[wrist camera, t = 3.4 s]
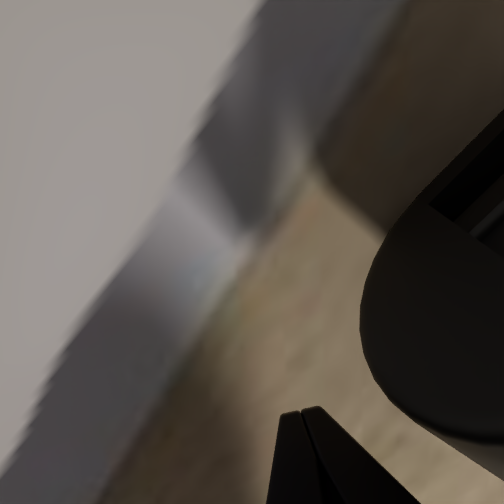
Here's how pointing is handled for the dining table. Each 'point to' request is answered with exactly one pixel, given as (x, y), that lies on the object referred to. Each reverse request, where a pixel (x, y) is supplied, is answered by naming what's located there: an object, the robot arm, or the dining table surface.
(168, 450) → the dining table surface
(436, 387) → the end cap
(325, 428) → the robot arm
